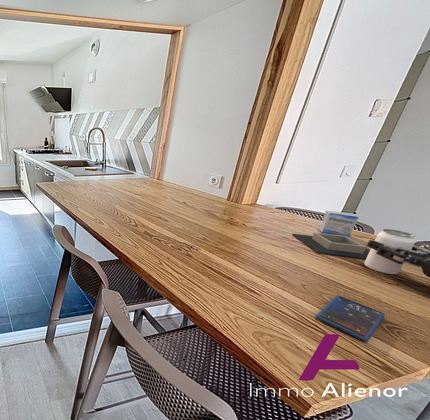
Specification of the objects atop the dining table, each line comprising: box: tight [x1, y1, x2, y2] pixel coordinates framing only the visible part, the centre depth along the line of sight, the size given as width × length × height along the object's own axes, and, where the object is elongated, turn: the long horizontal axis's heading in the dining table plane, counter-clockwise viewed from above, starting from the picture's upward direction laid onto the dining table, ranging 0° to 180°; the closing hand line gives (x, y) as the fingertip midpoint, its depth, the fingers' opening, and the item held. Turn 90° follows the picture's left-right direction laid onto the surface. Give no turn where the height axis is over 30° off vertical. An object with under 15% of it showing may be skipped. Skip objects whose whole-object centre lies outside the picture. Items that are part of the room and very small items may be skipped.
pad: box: [291, 232, 371, 261], centre depth 86 cm, size 18×16×3 cm
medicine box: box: [318, 210, 359, 238], centre depth 97 cm, size 8×4×9 cm, turn 55°
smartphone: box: [315, 294, 386, 342], centre depth 54 cm, size 8×1×15 cm
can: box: [363, 228, 416, 276], centre depth 72 cm, size 6×6×12 cm
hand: (381, 243), depth 73 cm, fingers closed on can, 6 cm apart
